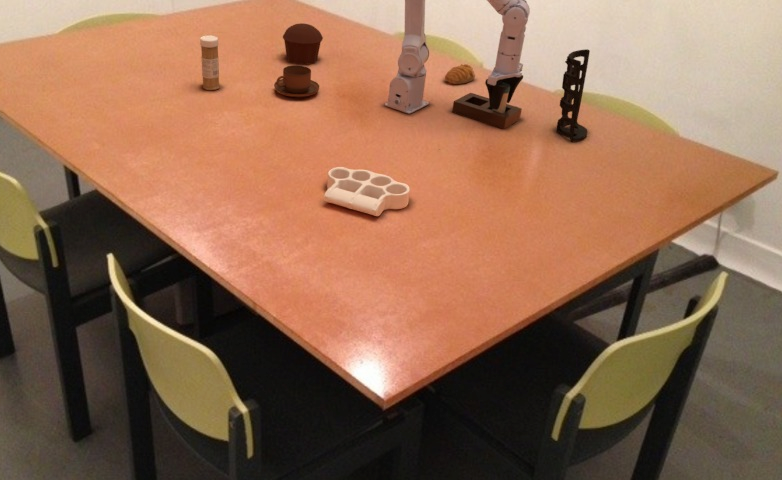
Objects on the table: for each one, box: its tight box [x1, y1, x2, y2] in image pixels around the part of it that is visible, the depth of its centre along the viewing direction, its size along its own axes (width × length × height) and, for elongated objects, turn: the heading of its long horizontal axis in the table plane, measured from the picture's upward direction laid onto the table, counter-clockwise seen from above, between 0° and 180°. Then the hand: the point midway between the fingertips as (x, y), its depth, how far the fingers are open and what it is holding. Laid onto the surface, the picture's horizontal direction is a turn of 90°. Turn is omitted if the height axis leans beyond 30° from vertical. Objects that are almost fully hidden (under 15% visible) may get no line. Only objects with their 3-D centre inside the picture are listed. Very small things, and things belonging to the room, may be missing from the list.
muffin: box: [282, 22, 324, 65], centre depth 225 cm, size 12×11×10 cm
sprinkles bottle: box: [199, 34, 220, 91], centre depth 202 cm, size 5×5×14 cm
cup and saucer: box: [273, 64, 320, 98], centre depth 204 cm, size 12×12×6 cm
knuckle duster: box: [323, 166, 411, 217], centre depth 159 cm, size 3×18×15 cm
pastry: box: [444, 63, 476, 85], centre depth 219 cm, size 9×7×4 cm
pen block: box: [451, 92, 523, 130], centre depth 199 cm, size 9×15×3 cm, turn 52°
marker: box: [492, 83, 510, 114], centre depth 196 cm, size 3×4×9 cm
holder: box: [556, 48, 591, 143], centre depth 188 cm, size 11×8×20 cm
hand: (499, 105), depth 196 cm, fingers open, 5 cm apart
